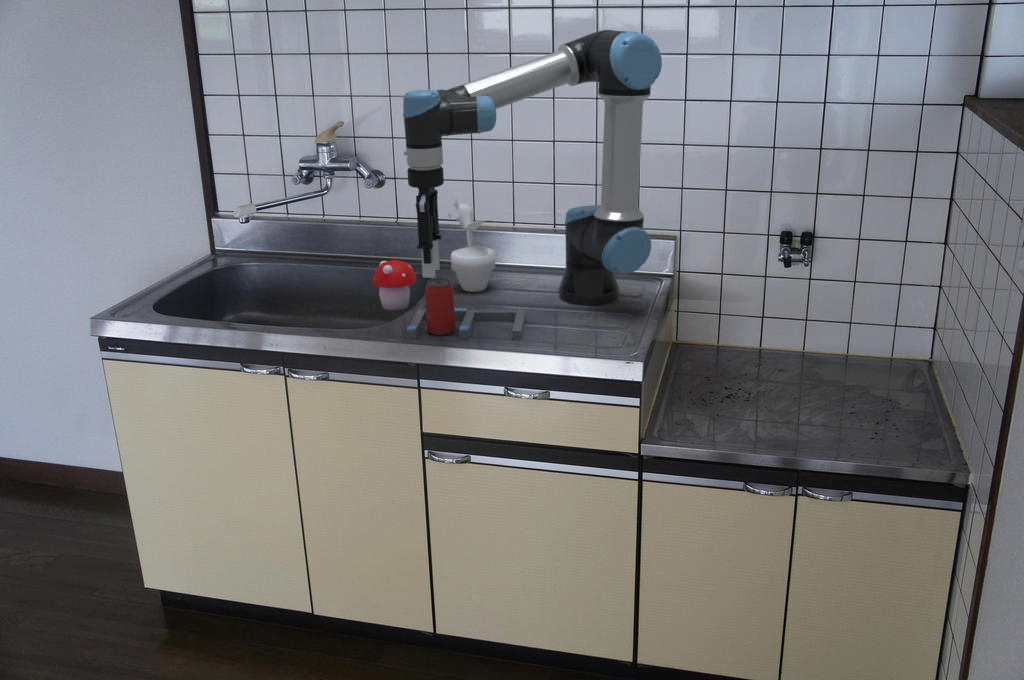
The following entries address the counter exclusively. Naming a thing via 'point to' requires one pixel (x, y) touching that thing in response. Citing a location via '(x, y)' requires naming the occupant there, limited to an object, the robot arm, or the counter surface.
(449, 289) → the beer can
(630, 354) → the counter surface
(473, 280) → the potted plant
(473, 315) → the duct comb
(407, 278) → the mushroom
